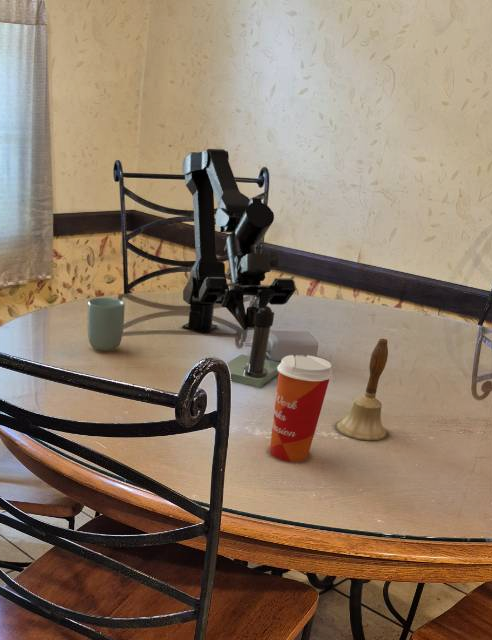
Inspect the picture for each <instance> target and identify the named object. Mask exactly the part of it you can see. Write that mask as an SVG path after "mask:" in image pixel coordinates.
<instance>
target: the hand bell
mask: <svg viewBox="0 0 492 640" xmlns="http://www.w3.org/2000/svg"><path fill="white" fill-rule="evenodd" d="M388 358H389V348H388V339H386V338H379V339H378V341H377V343H376V345H375V347H374V348H373V350H372V353H371V355H370V361H369V368H368V369H369V378H368V382H367V385H366V390H365V393H364V395H363V396H359V397H357V398H355V400H354V402H353V405H352V406H351V409H350V411H349V412H348V414H347V415H346V417H345V418H343V419H341V420H339V422H338V423H337V424H336V429H337V430H338V432H339V433H340V434H342V435H345V436H346V437H348V438H352V439H356V440H359V441H360V440H361V441H369V442H371V441H373V442H374V441H379V440H383V439H384V438H385V437H386V436H387V431H386V429H385V427H384V426H383V423H382V418H381V417H382V416H381V415H382V406H383V405H382V402H381V401H380V400H379V399H377V398H376V397H377V392H378V391H377V390H378V386H379V381H380V379H381V378H380V377H381V375H382V373H383V372H384V370H385V368H386V365H387V363H388Z"/></svg>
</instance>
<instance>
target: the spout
mask: <svg viewBox="0 0 492 640" xmlns="http://www.w3.org/2000/svg"><path fill="white" fill-rule="evenodd" d="M245 313H246V318H247V329H246V330H245V331H254V327H255V325H257V326H262V327H269V326H270V327H272V326H273V324H274V318H275V312H273V310H272V308H271V307H270V306H268V305H267V306H262V307H260V308H259V309H258V308H257V307H255V306H252V305H251V306H248V307H246V309H245Z"/></svg>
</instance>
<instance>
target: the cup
mask: <svg viewBox="0 0 492 640" xmlns="http://www.w3.org/2000/svg"><path fill="white" fill-rule="evenodd" d="M125 307H126V305H125V302H124V301H123V300H122V299H119V298H115V297H114V298H113V297H94V298H90V299H89V300H88V302H87V322H86V323H87V325H86V327H87V338H88V343H89V344H90V347H92V348H93V349H94V350H96V351H99V352H112V351H115V350H116V349H117V348H119V347H120V344H121V342H122V339H123V334H124V328H125V327H124V325H125V311H126V310H125Z"/></svg>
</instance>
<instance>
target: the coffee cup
mask: <svg viewBox="0 0 492 640" xmlns="http://www.w3.org/2000/svg"><path fill="white" fill-rule="evenodd" d="M280 363H281V364H279V365H278V367H277V370H278V371H279V373H278V374H277V376H278V377H277V385H276V391H275V392H276V393H275V401H274V409H273V418H272V419H273V420H272V427H271V436H270V446H269V447H270V448H269V453H270V454H271V456H272V457H274V458H276V459H278V460H280V461H284V462H290V463H299V462H303V461H305V460H307V458H308V456H309V453H310V450H311V447H312V444H313V440H314V437H315V433H316V429H317V425H318V422H319V418H320V415H321V412H322V408H323V405H324V400H325V397H326V393H327V390H328V387H329V382H330V380H331V379H332V378H333V377H334V373H333V371H332V367H333V366H332V363H330V362H329V361H328V360H327V359H324V358H321V357H318V356H316V357H314V356H308V355H307V357H304V355H296V356H293V355H289V356H285V357H284V358H283V359H282V361H280Z"/></svg>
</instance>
